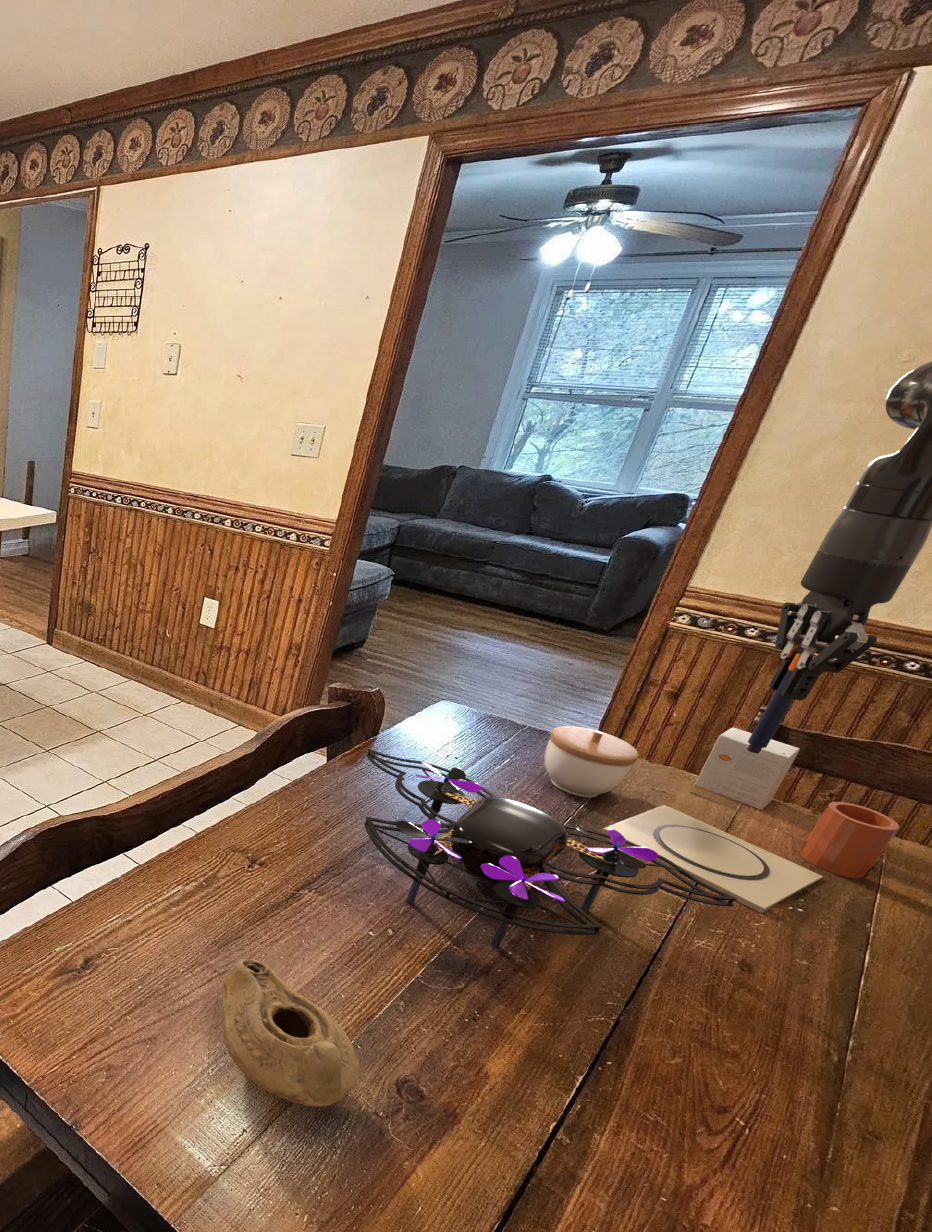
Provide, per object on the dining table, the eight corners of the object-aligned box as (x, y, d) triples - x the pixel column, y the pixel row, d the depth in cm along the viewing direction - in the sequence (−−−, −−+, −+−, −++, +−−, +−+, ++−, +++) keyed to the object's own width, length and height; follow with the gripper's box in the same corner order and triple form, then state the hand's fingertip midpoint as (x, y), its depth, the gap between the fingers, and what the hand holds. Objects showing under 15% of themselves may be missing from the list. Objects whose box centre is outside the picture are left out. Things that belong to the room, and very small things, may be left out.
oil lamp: (260, 983, 79) (277, 921, 75) (380, 1107, 67) (407, 1041, 63) (170, 1013, 75) (184, 949, 71) (280, 1151, 63) (304, 1082, 59)
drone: (750, 873, 84) (698, 995, 67) (709, 942, 89) (649, 1073, 72) (382, 731, 111) (278, 793, 94) (364, 789, 115) (261, 858, 98)
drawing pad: (661, 809, 115) (664, 803, 114) (820, 881, 101) (824, 875, 100) (600, 832, 108) (603, 826, 108) (761, 913, 94) (765, 907, 93)
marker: (747, 746, 100) (800, 652, 94) (765, 753, 98) (821, 657, 93) (740, 749, 99) (793, 653, 93) (758, 756, 97) (814, 659, 92)
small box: (766, 810, 116) (802, 748, 112) (754, 821, 113) (791, 757, 109) (700, 785, 122) (732, 725, 117) (687, 795, 119) (719, 734, 114)
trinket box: (581, 769, 125) (605, 717, 120) (635, 806, 115) (663, 751, 111) (517, 768, 124) (539, 715, 120) (566, 805, 114) (591, 749, 110)
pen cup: (810, 847, 108) (841, 797, 104) (872, 874, 103) (907, 823, 99) (789, 857, 105) (820, 807, 102) (852, 886, 100) (887, 834, 97)
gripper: (954, 574, 81) (860, 723, 88) (866, 545, 92) (790, 679, 100) (864, 563, 82) (779, 710, 90) (789, 536, 94) (720, 668, 102)
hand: (785, 693), depth 95 cm, fingers closed on marker, 2 cm apart
